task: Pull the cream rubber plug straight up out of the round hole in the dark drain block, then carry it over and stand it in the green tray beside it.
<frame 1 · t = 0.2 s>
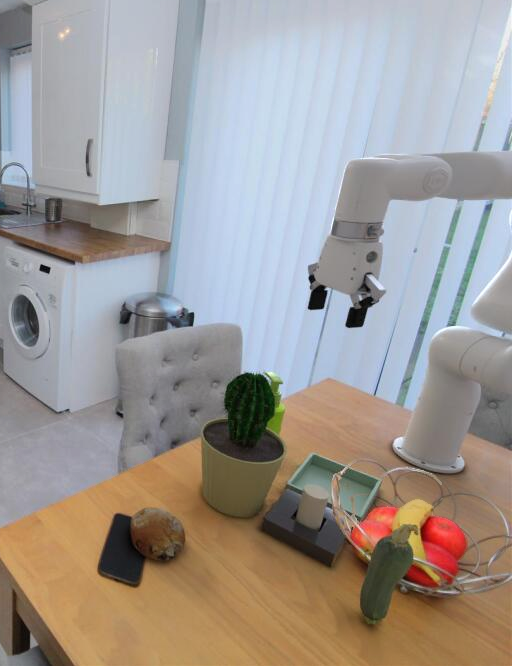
hand: (333, 317, 93), 37 cm above the table, tool pointing down, fingers open, 9 cm apart
plug: (310, 511, 90), in a hole of the drain block
green tray: (331, 493, 101), on the table
soap dispenser: (259, 451, 115), on the table
drain block: (305, 530, 92), on the table
vegetable: (369, 618, 76), on the table
bread roll: (156, 542, 91), on the table
potted cactus: (231, 498, 101), on the table
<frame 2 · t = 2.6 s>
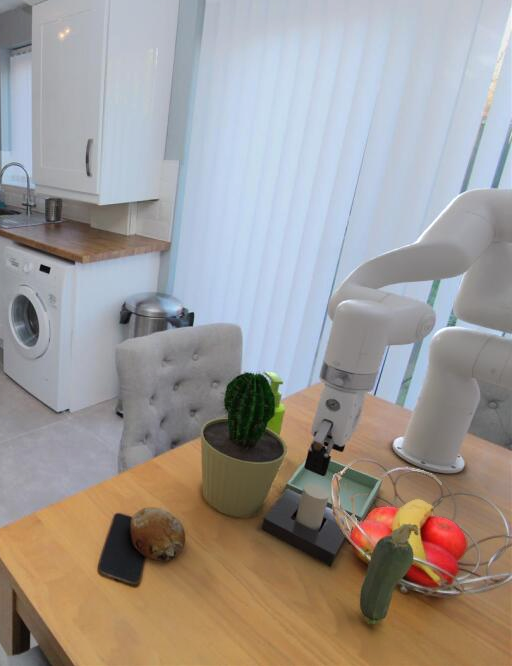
hand: (324, 459, 85), 17 cm above the table, tool pointing down, fingers open, 9 cm apart
nothing on the table moved.
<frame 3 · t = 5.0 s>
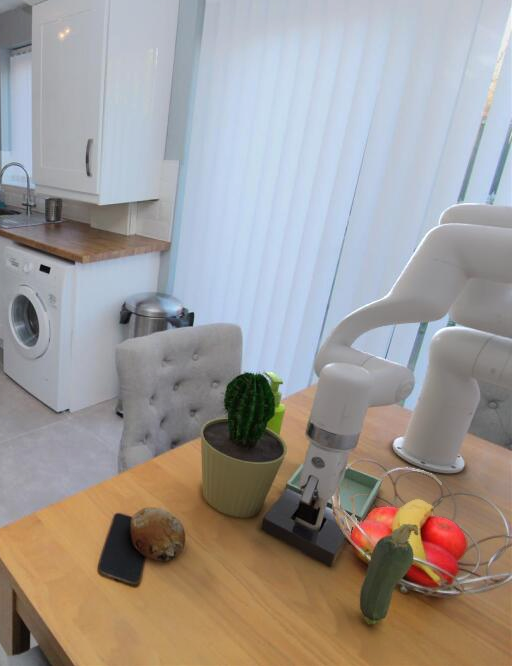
hand: (310, 513, 90), 4 cm above the table, tool pointing down, fingers closed on plug, 4 cm apart
plug: (310, 511, 90), in a hole of the drain block, touching gripper
everything else where it was.
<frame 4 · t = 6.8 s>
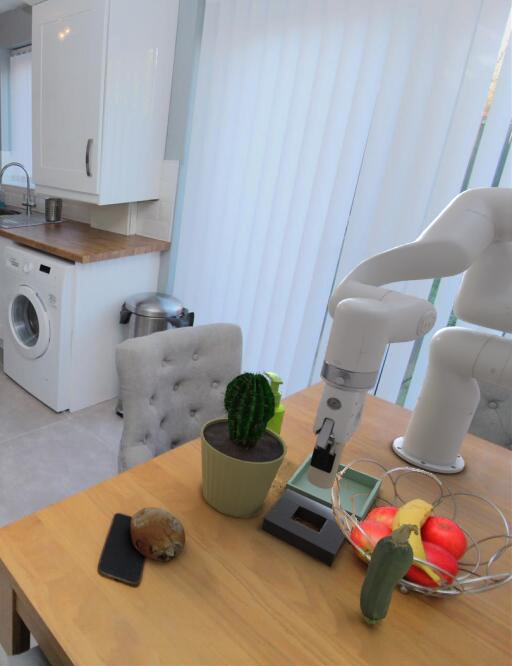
hand: (325, 461, 86), 16 cm above the table, tool pointing down, fingers closed on plug, 4 cm apart
plug: (325, 460, 86), point 16 cm above the table, touching gripper
everything else where it was.
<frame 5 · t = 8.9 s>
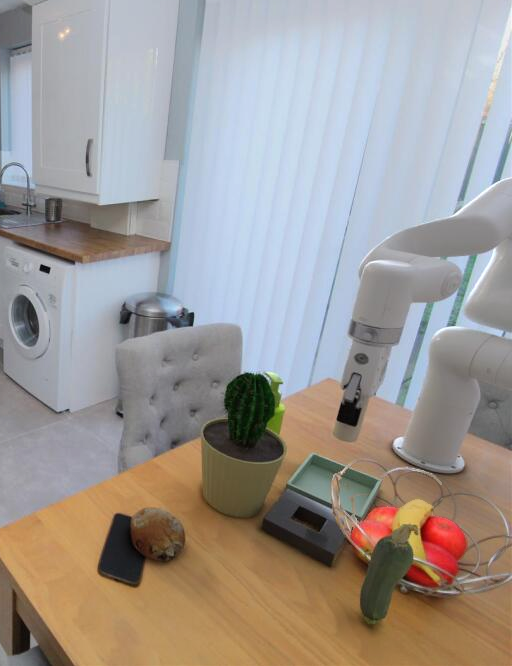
hand: (350, 417, 92), 20 cm above the table, tool pointing down, fingers closed on plug, 4 cm apart
plug: (350, 415, 92), point 20 cm above the table, touching gripper
everything else where it was.
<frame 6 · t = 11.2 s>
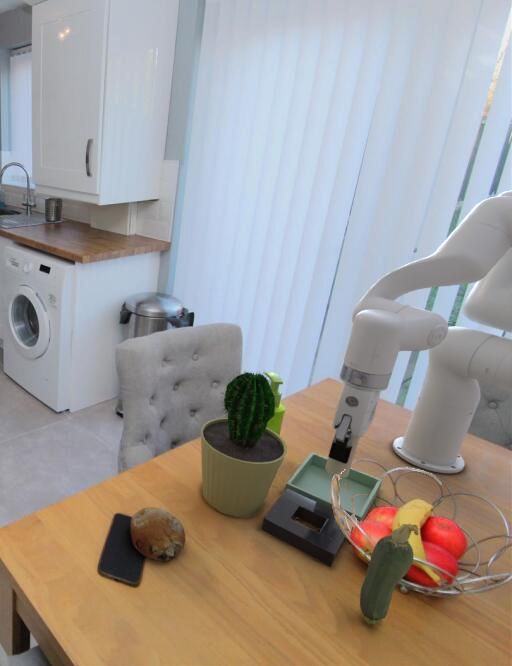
hand: (341, 454, 97), 10 cm above the table, tool pointing down, fingers closed on plug, 4 cm apart
plug: (342, 452, 97), point 10 cm above the table, touching gripper
everything else where it was.
when the fingers open (5 cm above the table, at t = 12.8 s): plug stays where it is, resting on green tray.
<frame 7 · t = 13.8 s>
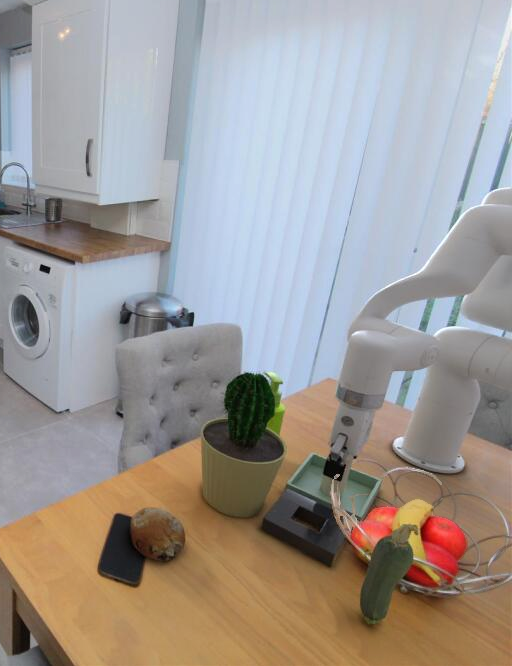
hand: (339, 466, 99), 7 cm above the table, tool pointing down, fingers open, 9 cm apart
plug: (336, 473, 99), in the green tray
everything else where it was.
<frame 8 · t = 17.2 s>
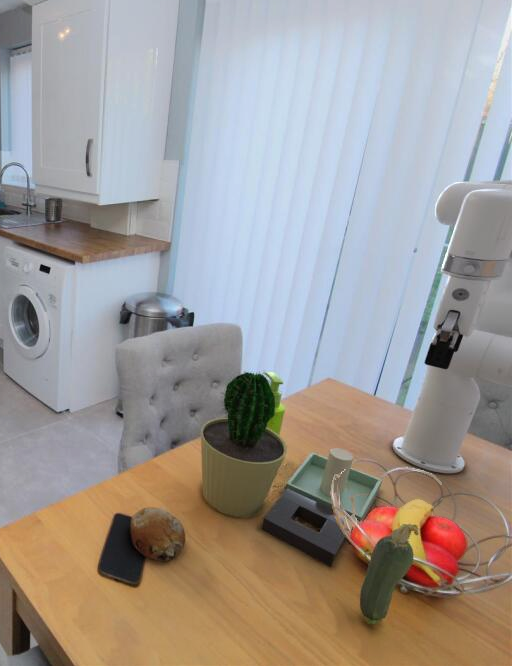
hand: (441, 357, 87), 32 cm above the table, tool pointing down, fingers open, 9 cm apart
nothing on the table moved.
at the end: plug inside the target area in the green tray (0.2 cm from its centre), point 5.2 cm above the green tray's base; plug touching green tray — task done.
